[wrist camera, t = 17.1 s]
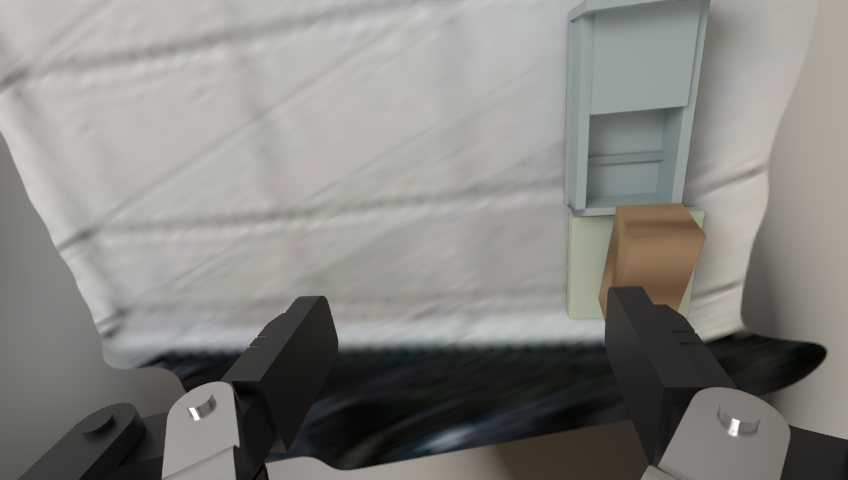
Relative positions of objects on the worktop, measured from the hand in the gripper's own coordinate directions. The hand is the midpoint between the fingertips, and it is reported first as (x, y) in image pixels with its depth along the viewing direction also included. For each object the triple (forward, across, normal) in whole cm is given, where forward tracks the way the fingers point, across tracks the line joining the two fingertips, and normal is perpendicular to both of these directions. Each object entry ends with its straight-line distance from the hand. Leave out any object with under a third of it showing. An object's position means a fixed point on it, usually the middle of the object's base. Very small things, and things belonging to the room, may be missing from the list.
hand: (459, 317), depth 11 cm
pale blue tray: (+24, -11, -2) cm, 27 cm away
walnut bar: (+22, -12, +10) cm, 27 cm away
